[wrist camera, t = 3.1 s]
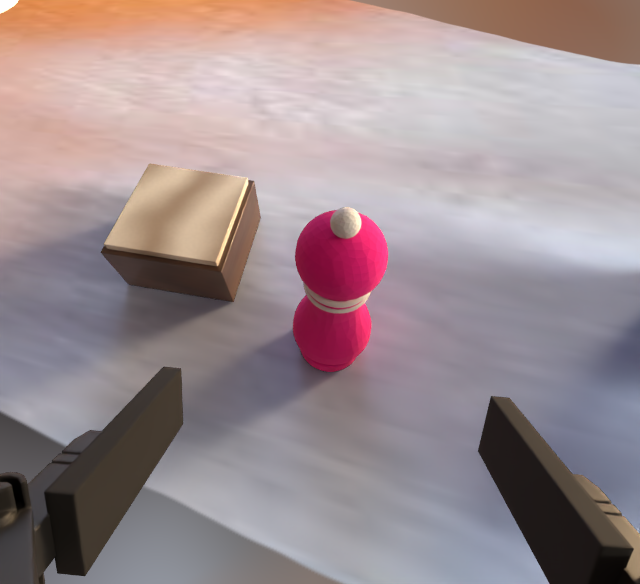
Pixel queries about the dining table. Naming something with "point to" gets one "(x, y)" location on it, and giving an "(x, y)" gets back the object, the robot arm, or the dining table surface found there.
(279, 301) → the dining table surface
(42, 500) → the robot arm
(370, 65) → the dining table surface
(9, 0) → the canister
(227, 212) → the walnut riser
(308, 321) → the pepper mill
